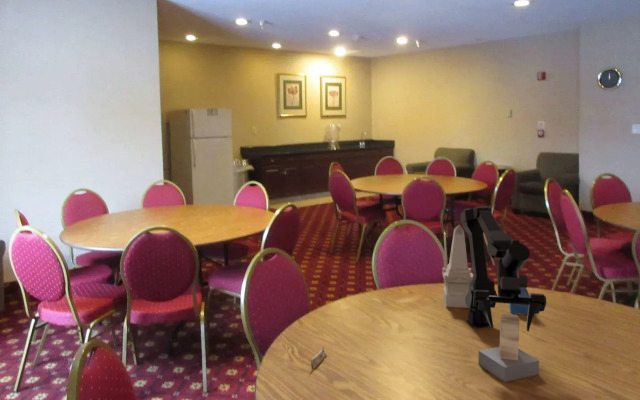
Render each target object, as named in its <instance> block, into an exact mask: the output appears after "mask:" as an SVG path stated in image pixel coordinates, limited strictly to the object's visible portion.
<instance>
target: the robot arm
mask: <svg viewBox="0 0 640 400" xmlns="http://www.w3.org/2000/svg"><path fill="white" fill-rule="evenodd" d="M460 222H461V223H462V229H463V230H464V232H466V233H467V235H468V240H469V241H468V242H469V248H470V249H469V250H470V259H471V267H472V268H471V271H472V274H473V279H472V281H471V283H470V285H469V292H468V294H467V295H466V297H465V303H466V305H467V306H468V307H469V309H468V310H467V311H468V313H467V314H468V315H467V319H466V323H468V324H469V325H472V326H473V327H475V328H477V329H478V328H479V329H480V328H485V327H490V329H491V330H492V329H493V328H494V323H493V322H494V321H493V315H492V309H494V308H495V307H496V304H508V305H509V304H523V305H528V314H526V315H527V318H526V331H527V332H530V328H531V325H532V322H533V319H534V317H535V315H536V314H537V315H538V314H540V312H544V311H545V309H546V306H547V296H546V295H545V294H544V293H535V292H534V293H532V292H530V293H529V298H525V297H519V295H520V294H521V288H526V289H527V288H528V285H529V284H528V283H529V282H528V275H522V274H521V275H519V270H521V268H522V267H524V265H525V264H526V262H527V260H528V259H529V258H530V257H531V256H530V255H531V251H530V250H529V248H528V247H527V246H526V245H524V244H523V243H520V240H519V239H513V238H512V237H511V235H510V234H507V233H505V232H504V231H503V230H502V229H501V226H500V225H499V223H498V221H497V220H496V218H495V216H494V215H493V210H492V208H491V207H490V206H487V205H486V206H476V207H473V208H464V210H463V211H462V212H460ZM484 235H485V237H486V240H487V246H485V237H484ZM486 251H487V254H488V255H489V256H490V258H491V259H498V261H497V262H496V271H497V272H496V273H497V274H496V278H497V281H496V283H497V291H496V286H495V282H494V281H493V280H491V279H490V277H489V274H488V265H487V257H486ZM518 277H519V278H518Z"/></svg>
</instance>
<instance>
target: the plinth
mask: <svg viewBox="0 0 640 400" xmlns="http://www.w3.org/2000/svg"><path fill="white" fill-rule="evenodd" d="M478 366H480V367H482V368H483V369H485V370H486V371H487V372H490V373H491V374H492V375H494V376H495V377H496V378H498V379H499V380H501V381H502V382H504V383H508V382H512V381H516V380H521V379H525V378H530V377H533V376H538V375H539V371H540V360H539V359H537V358H536V357H534V356H533V355H530V354H528V352H527V353H526V352H525V351H524V350H521V349H520V348H519V349H518V360H512V359H501V358H500V353H499V346H496V347H495V346H494V347H490V348H486V349H481V350H478Z"/></svg>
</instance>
